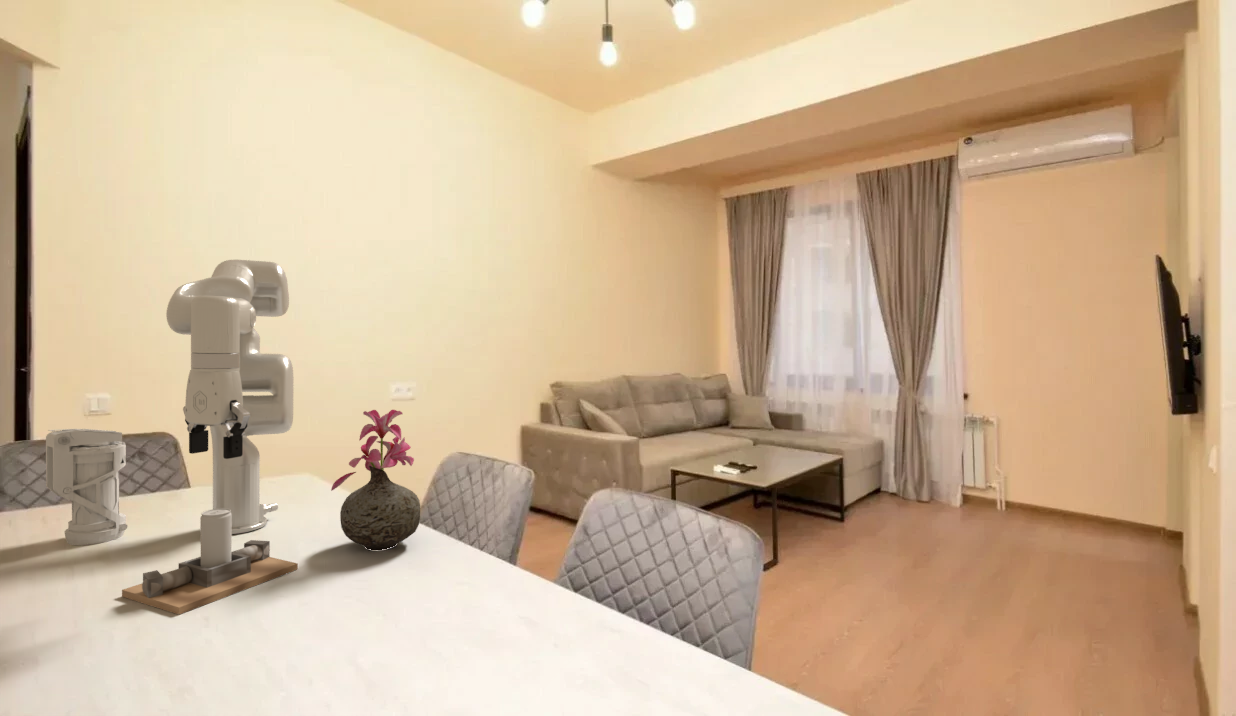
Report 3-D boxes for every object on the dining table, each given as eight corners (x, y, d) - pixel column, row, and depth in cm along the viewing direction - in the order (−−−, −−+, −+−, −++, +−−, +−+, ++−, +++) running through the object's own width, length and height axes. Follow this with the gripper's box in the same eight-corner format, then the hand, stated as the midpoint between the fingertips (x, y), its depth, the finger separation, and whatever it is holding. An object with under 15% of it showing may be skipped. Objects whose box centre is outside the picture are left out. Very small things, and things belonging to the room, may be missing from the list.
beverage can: (237, 572, 114) (237, 509, 114) (215, 581, 109) (215, 516, 109) (216, 569, 115) (216, 507, 115) (193, 579, 110) (193, 514, 110)
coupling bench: (244, 556, 126) (244, 535, 125) (298, 569, 119) (298, 547, 119) (121, 596, 105) (121, 571, 105) (178, 614, 99) (178, 588, 99)
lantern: (114, 528, 142) (114, 422, 142) (134, 536, 137) (134, 426, 136) (41, 543, 131) (40, 428, 131) (59, 552, 126) (59, 433, 125)
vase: (434, 546, 134) (435, 412, 133) (355, 567, 121) (356, 418, 120) (397, 529, 145) (398, 405, 144) (322, 546, 132) (323, 410, 132)
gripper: (164, 361, 111) (164, 453, 112) (226, 365, 104) (226, 463, 105) (206, 360, 118) (206, 447, 119) (266, 364, 111) (266, 456, 112)
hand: (215, 454), depth 112 cm, fingers open, 9 cm apart
